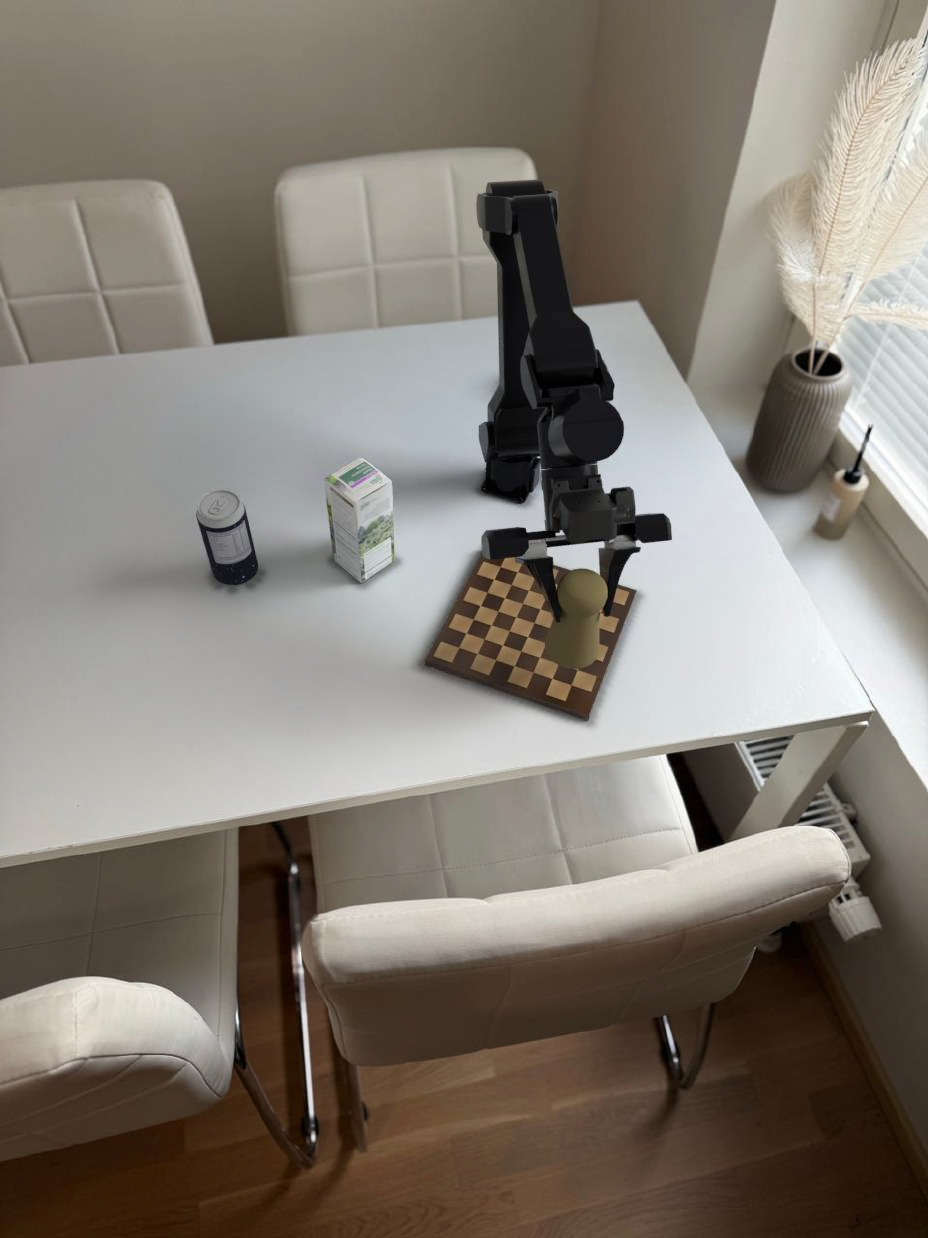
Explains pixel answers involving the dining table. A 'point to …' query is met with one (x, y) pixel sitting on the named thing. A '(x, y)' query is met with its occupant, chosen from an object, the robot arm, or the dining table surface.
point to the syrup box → (360, 519)
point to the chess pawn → (577, 619)
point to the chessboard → (521, 639)
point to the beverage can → (227, 537)
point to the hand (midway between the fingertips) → (581, 619)
